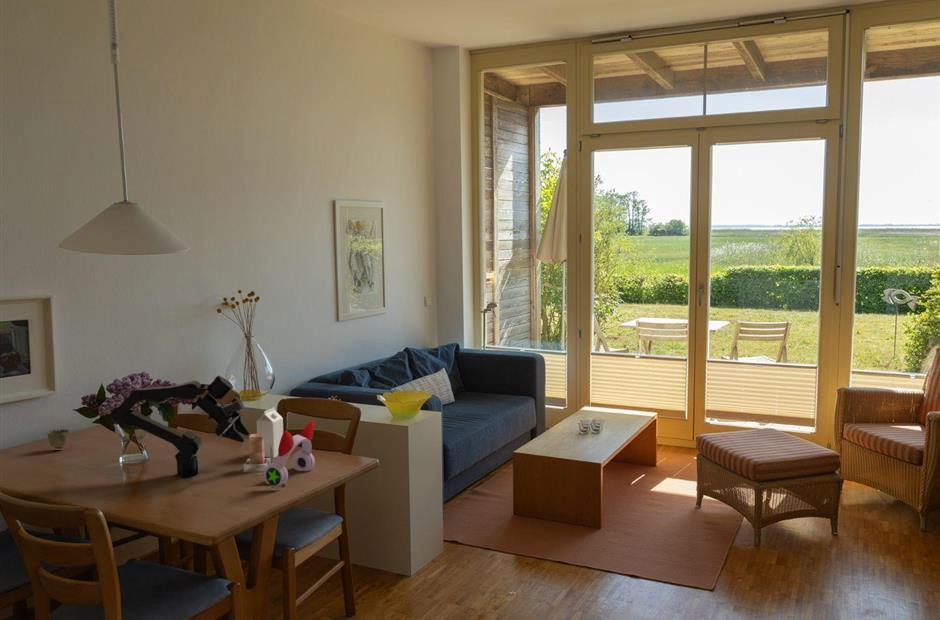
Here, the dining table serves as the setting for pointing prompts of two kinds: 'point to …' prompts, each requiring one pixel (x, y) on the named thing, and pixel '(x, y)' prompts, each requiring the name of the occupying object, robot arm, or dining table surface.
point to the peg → (256, 449)
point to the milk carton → (270, 430)
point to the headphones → (300, 459)
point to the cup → (58, 438)
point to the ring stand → (257, 465)
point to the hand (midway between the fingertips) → (246, 438)
